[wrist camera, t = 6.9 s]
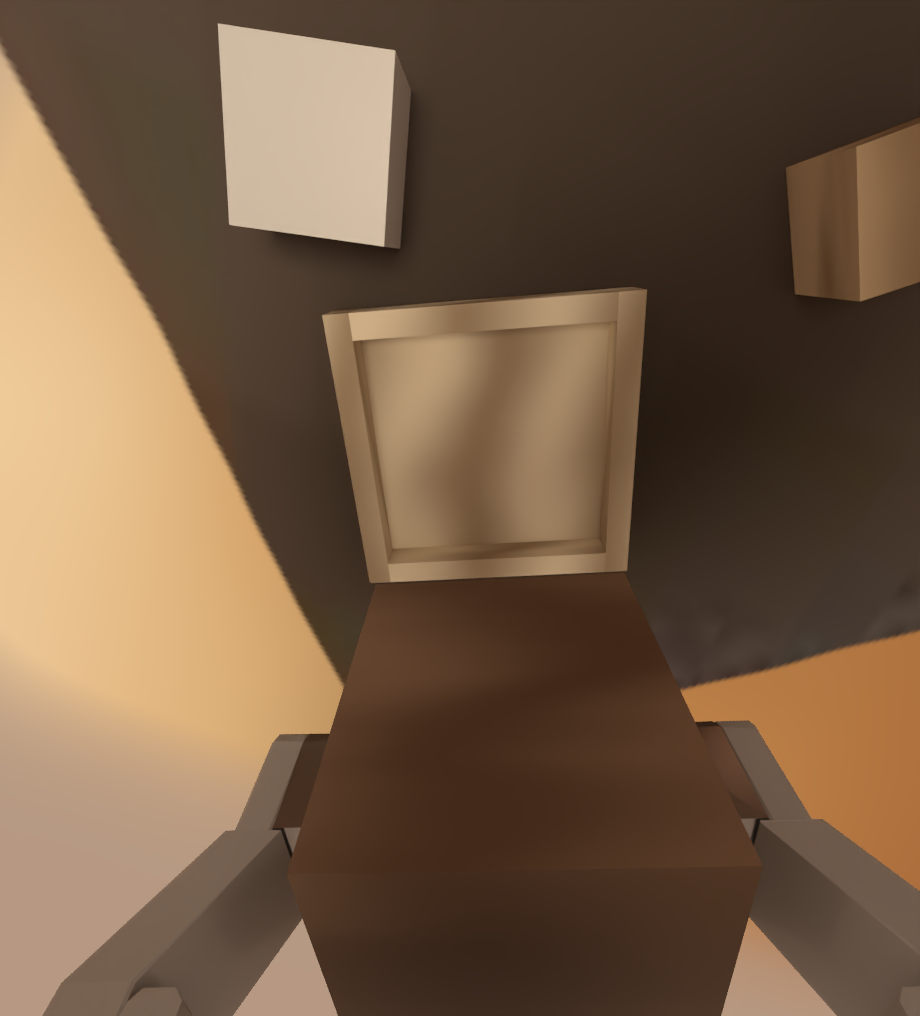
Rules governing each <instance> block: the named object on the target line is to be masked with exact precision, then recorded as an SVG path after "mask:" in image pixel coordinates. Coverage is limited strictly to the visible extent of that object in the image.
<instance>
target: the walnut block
mask: <svg viewBox="0 0 920 1016" xmlns="http://www.w3.org/2000/svg"><path fill="white" fill-rule="evenodd" d="M762 868H763V865H762V863H761V861H760V858H759V856H758V854H757V852H756V850H755V848H754V846H753V844H752V842H751V839H750V837H749V835H748V833H747V831H746V829H745V827H744V825H743V822H742V820H741V818H740V816H739V814H738V812H737V810H736V808H735V806H734V803H733V801H732V799H731V797H730V795H729V793H728V791H727V789H726V787H725V784H724V782H723V780H722V778H721V776H720V774H719V772H718V770H717V768H716V765H715V763H714V761H713V759H712V757H711V755H710V753H709V751H708V749H707V746H706V744H705V742H704V740H703V738H702V736H701V734H700V732H699V729H698V727H697V725H696V723H695V721H694V719H693V717H692V715H691V713H690V711H689V708H688V706H687V704H686V702H685V700H684V698H683V696H682V694H681V691H680V689H679V687H678V685H677V683H676V681H675V679H674V677H673V675H672V672H671V670H670V668H669V666H668V664H667V662H666V660H665V658H664V655H663V653H662V651H661V649H660V647H659V645H658V643H657V641H656V639H655V636H654V634H653V632H652V630H651V628H650V626H649V624H648V622H647V620H646V617H645V615H644V613H643V611H642V609H641V607H640V605H639V603H638V601H637V598H636V596H635V594H634V592H633V590H632V588H631V586H630V584H629V581H628V579H627V577H626V575H625V573H624V572H622V573H602V574H582V575H562V576H542V577H522V578H502V579H482V580H462V581H442V582H422V583H402V584H382V585H375V589H374V592H373V595H372V598H371V602H370V605H369V608H368V611H367V615H366V618H365V621H364V624H363V628H362V631H361V634H360V637H359V641H358V644H357V647H356V650H355V654H354V657H353V660H352V663H351V667H350V670H349V673H348V676H347V680H346V683H345V686H344V689H343V693H342V696H341V699H340V702H339V705H338V709H337V712H336V715H335V719H334V722H333V725H332V728H331V732H330V735H329V738H328V741H327V744H326V748H325V751H324V754H323V757H322V761H321V764H320V767H319V770H318V774H317V777H316V780H315V783H314V787H313V790H312V793H311V796H310V800H309V803H308V806H307V809H306V813H305V816H304V819H303V822H302V825H301V829H300V832H299V835H298V838H297V842H296V845H295V848H294V851H293V855H292V858H291V861H290V864H289V868H288V871H287V877H288V880H289V883H290V885H291V888H292V891H293V894H294V896H295V899H296V902H297V904H298V907H299V910H300V913H301V915H302V918H303V921H304V924H305V926H306V929H307V932H308V934H309V937H310V940H311V943H312V945H313V948H314V951H315V953H316V956H317V959H318V962H319V964H320V967H321V970H322V973H323V976H324V978H325V981H326V984H327V986H328V989H329V992H330V995H331V997H332V1000H333V1003H334V1006H335V1008H336V1011H337V1014H338V1016H721V1013H722V1010H723V1007H724V1003H725V999H726V996H727V992H728V989H729V985H730V982H731V978H732V975H733V971H734V967H735V964H736V960H737V957H738V953H739V950H740V946H741V943H742V939H743V936H744V932H745V929H746V925H747V921H748V918H749V914H750V911H751V907H752V904H753V900H754V897H755V893H756V889H757V886H758V882H759V879H760V875H761V872H762Z"/></svg>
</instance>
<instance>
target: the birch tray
mask: <svg viewBox="0 0 920 1016" xmlns="http://www.w3.org/2000/svg"><path fill="white" fill-rule="evenodd" d="M646 299H647V289H642V288H636V287H624V288H612V289H599V290H586V291H574V292H561V293H549V294H536V295H524V296H511V297H499V298H486V299H473V300H461V301H448V302H436V303H423V304H411V305H398V306H385V307H373V308H360V309H348V310H335V311H332V312H330V313H327V314H324V315H322V317H323V323H324V329H325V334H326V340H327V345H328V351H329V357H330V362H331V368H332V373H333V379H334V385H335V390H336V396H337V401H338V407H339V413H340V418H341V424H342V429H343V435H344V441H345V446H346V452H347V458H348V463H349V469H350V474H351V480H352V486H353V491H354V497H355V502H356V508H357V514H358V519H359V525H360V530H361V536H362V542H363V547H364V553H365V558H366V564H367V570H368V575H369V581H370V583H384V582H405V581H426V580H447V579H468V578H489V577H510V576H531V575H552V574H573V573H594V572H615V571H627V563H628V550H629V536H630V522H631V508H632V494H633V480H634V466H635V452H636V438H637V424H638V410H639V396H640V383H641V369H642V355H643V341H644V327H645V313H646Z"/></svg>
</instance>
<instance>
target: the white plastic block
mask: <svg viewBox="0 0 920 1016" xmlns="http://www.w3.org/2000/svg"><path fill="white" fill-rule="evenodd" d="M218 33H219V51H220V69H221V86H222V104H223V122H224V139H225V157H226V175H227V192H228V210H229V225H235V226H242V227H249V228H256V229H263V230H270V231H277V232H284V233H291V234H298V235H305V236H312V237H319V238H327V239H334V240H341V241H348V242H355V243H362V244H369V245H376V246H383V247H390V248H398V249H400V244H401V229H402V215H403V201H404V186H405V172H406V157H407V143H408V129H409V114H410V100H411V89H410V86H409V84H408V81H407V79H406V76H405V74H404V71H403V69H402V66H401V64H400V61H399V58H398V56H397V53H396V51H395V50H388V49H382V48H375V47H369V46H362V45H355V44H349V43H342V42H336V41H329V40H322V39H316V38H309V37H303V36H296V35H289V34H283V33H276V32H270V31H263V30H257V29H250V28H243V27H237V26H230V25H224V24H218Z"/></svg>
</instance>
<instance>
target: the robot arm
mask: <svg viewBox="0 0 920 1016" xmlns="http://www.w3.org/2000/svg"><path fill="white" fill-rule="evenodd" d="M695 723H696V725H697V727H698V729H699V732H700V734H701V736H702V738H703V740H704V742H705V744H706V746H707V749H708V751H709V753H710V755H711V757H712V759H713V761H714V763H715V765H716V768H717V770H718V772H719V774H720V776H721V778H722V780H723V782H724V784H725V787H726V789H727V791H728V793H729V795H730V797H731V799H732V801H733V803H734V806H735V808H736V810H737V812H738V814H739V816H740V818H741V820H742V822H743V825H744V827H745V829H746V831H747V833H748V835H749V837H750V839H751V842H752V844H753V846H754V848H755V850H756V852H757V854H758V856H759V858H760V861H761V863H762V865H763V868H762V872H761V875H760V879H759V882H758V886H757V889H756V893H755V897H754V900H753V904H752V907H751V911H750V914H749V917H750V918H751V920H752V921H753V922H754V923H755V924H756V925H757V926H758V927H759V928H760V929H761V931H762V932H763V933H764V934H765V935H766V936H767V938H768V939H769V940H770V941H771V942H772V943H773V944H774V945H775V946H776V948H777V949H778V950H779V951H780V952H781V953H782V954H783V955H784V957H785V958H786V959H787V960H788V961H789V962H790V963H791V964H792V965H793V967H794V968H795V969H796V970H797V971H798V972H799V973H800V974H801V976H802V977H803V978H804V979H805V980H806V981H807V982H808V984H809V985H810V986H811V987H812V988H813V989H814V990H815V991H816V993H817V994H818V995H819V996H820V997H821V998H822V999H823V1000H824V1002H825V1003H826V1004H827V1005H828V1006H829V1007H830V1008H831V1009H832V1010H833V1012H834V1013H835V1014H836V1015H837V1016H920V891H919V890H917V889H916V888H914V887H913V886H912V885H911V884H909V883H908V882H906V881H905V880H904V879H902V878H901V877H900V876H898V875H897V874H896V873H894V872H893V871H892V870H890V869H889V868H888V867H886V866H885V865H884V864H882V863H881V862H880V861H878V860H877V859H876V858H874V857H873V856H871V855H870V854H869V853H867V852H866V851H865V850H863V849H862V848H861V847H859V846H858V845H857V844H855V843H854V842H853V841H851V840H850V839H849V838H847V837H846V836H844V835H843V834H842V833H840V832H839V831H838V830H836V829H835V828H834V827H832V826H831V825H830V824H828V823H827V822H825V821H824V820H823V819H811V817H810V816H809V814H808V812H807V811H806V809H805V807H804V806H803V804H802V803H801V801H800V799H799V798H798V796H797V794H796V793H795V791H794V789H793V788H792V786H791V784H790V783H789V781H788V779H787V778H786V776H785V774H784V773H783V771H782V770H781V768H780V767H779V765H778V763H777V761H776V760H775V758H774V756H773V755H772V753H771V751H770V750H769V748H768V746H767V745H766V743H765V741H764V740H763V738H762V737H761V735H760V733H759V732H758V730H757V728H756V727H755V725H753V724H752V723H751V722H750V721H721V722H712V721H709V722H695ZM329 735H330V734H283V735H279V736H278V737H277V739H276V740H275V741H274V742H273V743H272V745H271V748H270V750H269V753H268V755H267V757H266V759H265V762H264V764H263V767H262V769H261V771H260V773H259V776H258V778H257V781H256V783H255V785H254V788H253V790H252V792H251V795H250V797H249V799H248V802H247V804H246V806H245V809H244V811H243V813H242V816H241V818H240V820H239V823H238V825H237V827H236V830H235V831H225V832H224V833H223V834H222V835H221V836H220V837H219V838H218V839H217V840H216V841H214V842H213V843H212V844H211V845H210V846H209V847H208V848H207V849H206V850H205V851H204V852H203V853H202V854H200V855H199V856H198V857H197V858H196V859H195V860H194V861H193V862H192V863H191V864H190V865H189V866H187V867H186V868H185V869H184V870H183V871H182V872H181V873H180V874H179V875H178V876H177V877H175V878H174V879H173V880H172V881H171V882H170V883H169V884H168V885H167V886H166V887H165V888H164V889H163V890H162V891H160V892H159V893H158V894H157V895H156V896H155V897H154V898H153V899H152V900H151V901H150V902H149V903H147V904H146V905H145V906H144V907H143V908H142V909H141V910H140V911H139V912H138V913H137V914H136V915H135V916H134V917H132V918H131V919H130V920H129V921H128V922H127V923H126V924H125V925H124V926H123V927H121V928H120V929H119V930H118V931H117V932H116V933H115V934H114V935H113V936H112V937H111V938H110V939H109V940H107V941H106V942H105V943H104V944H103V945H102V946H101V947H100V948H99V949H98V950H97V951H96V952H95V953H93V954H92V955H91V956H90V957H89V958H88V959H87V960H86V961H85V962H84V963H83V964H82V965H81V966H79V967H78V968H77V969H76V970H75V971H74V972H73V973H72V974H71V975H70V976H69V977H67V978H66V979H65V980H64V981H63V982H62V983H61V985H60V986H59V988H58V990H57V991H56V993H55V995H54V997H53V998H52V1000H51V1002H50V1004H49V1005H48V1007H47V1009H46V1011H45V1012H44V1014H43V1016H233V1015H234V1013H235V1012H236V1010H237V1009H238V1007H239V1006H240V1005H241V1003H242V1002H243V1001H244V999H245V998H246V996H247V995H248V994H249V992H250V991H251V989H252V988H253V986H254V985H255V984H256V982H257V981H258V980H259V978H260V977H261V975H262V974H263V973H264V971H265V970H266V968H267V967H268V966H269V964H270V962H271V961H272V960H273V959H274V957H275V956H276V954H277V953H278V952H279V950H280V948H281V947H282V946H283V945H284V943H285V942H286V940H287V939H288V938H289V936H290V935H291V933H292V932H293V931H294V929H295V928H296V926H297V925H298V924H299V922H300V921H301V919H302V915H301V913H300V910H299V907H298V904H297V902H296V899H295V896H294V894H293V891H292V888H291V885H290V883H289V880H288V877H287V871H288V868H289V864H290V861H291V858H292V855H293V851H294V848H295V845H296V842H297V838H298V835H299V832H300V829H301V825H302V822H303V819H304V816H305V813H306V809H307V806H308V803H309V800H310V796H311V793H312V790H313V787H314V783H315V780H316V777H317V774H318V770H319V767H320V764H321V761H322V757H323V754H324V751H325V748H326V744H327V741H328V738H329Z"/></svg>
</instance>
